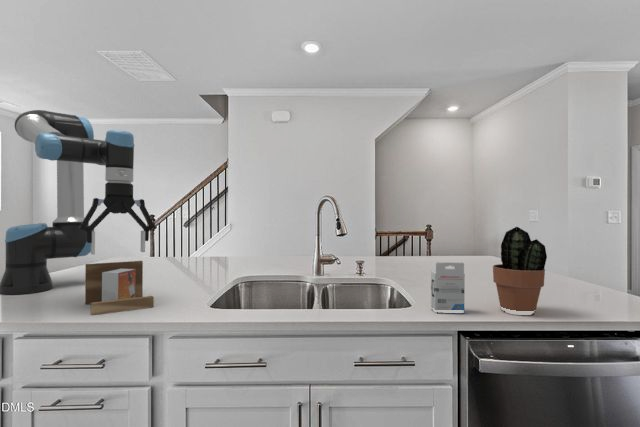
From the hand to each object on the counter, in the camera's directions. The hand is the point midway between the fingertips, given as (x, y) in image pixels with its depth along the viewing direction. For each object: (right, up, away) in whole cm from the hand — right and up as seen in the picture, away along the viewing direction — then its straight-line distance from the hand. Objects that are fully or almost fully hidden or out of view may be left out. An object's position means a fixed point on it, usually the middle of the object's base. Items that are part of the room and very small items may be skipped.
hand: (118, 253), depth 118 cm
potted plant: (+119, -17, -4) cm, 120 cm away
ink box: (+98, -17, -4) cm, 100 cm away
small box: (0, -16, 0) cm, 16 cm away
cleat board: (0, -16, 0) cm, 16 cm away
